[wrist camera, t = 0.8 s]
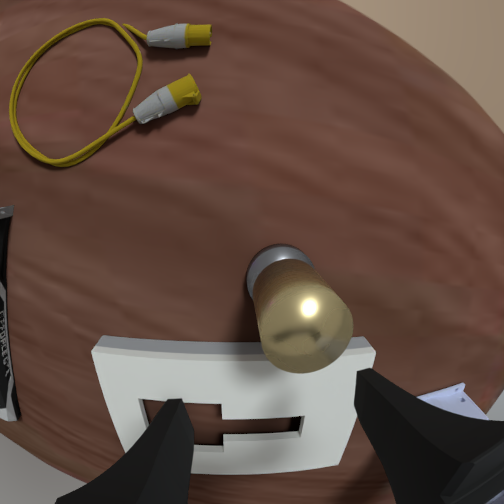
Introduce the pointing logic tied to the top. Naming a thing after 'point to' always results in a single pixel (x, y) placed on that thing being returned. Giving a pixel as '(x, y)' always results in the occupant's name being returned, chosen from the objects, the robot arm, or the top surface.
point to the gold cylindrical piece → (296, 311)
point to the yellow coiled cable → (151, 107)
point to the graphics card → (6, 331)
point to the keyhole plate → (235, 399)
